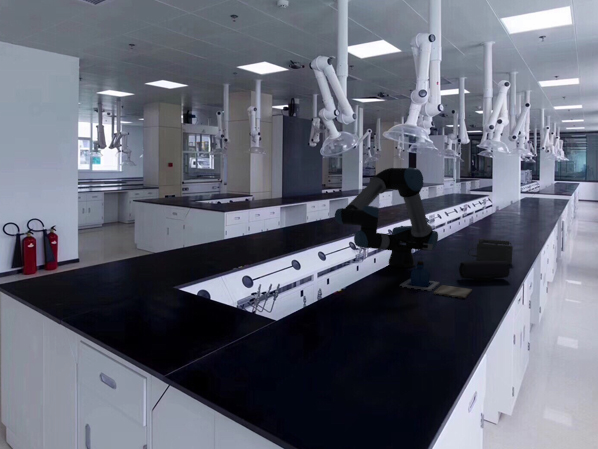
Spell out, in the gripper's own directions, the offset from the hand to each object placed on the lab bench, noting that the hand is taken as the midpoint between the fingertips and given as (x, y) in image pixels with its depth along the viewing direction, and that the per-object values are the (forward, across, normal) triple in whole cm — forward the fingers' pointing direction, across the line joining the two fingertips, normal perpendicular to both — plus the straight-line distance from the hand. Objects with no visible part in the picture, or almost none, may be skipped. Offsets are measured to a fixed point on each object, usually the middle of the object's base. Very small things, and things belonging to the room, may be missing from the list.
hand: (423, 246), depth 214 cm
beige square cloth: (+9, +14, -20) cm, 26 cm away
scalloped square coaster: (+2, -2, -20) cm, 20 cm away
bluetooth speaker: (+38, +1, -14) cm, 41 cm away
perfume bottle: (+2, -2, -20) cm, 20 cm away
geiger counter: (+71, -31, -5) cm, 78 cm away
